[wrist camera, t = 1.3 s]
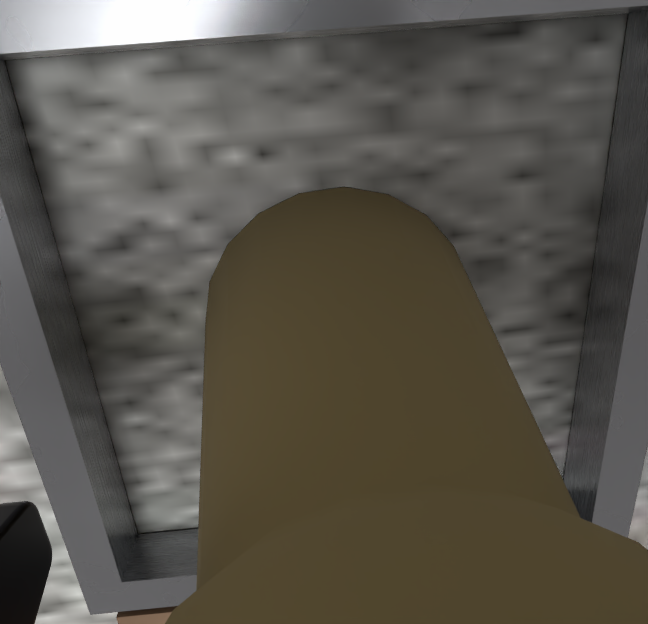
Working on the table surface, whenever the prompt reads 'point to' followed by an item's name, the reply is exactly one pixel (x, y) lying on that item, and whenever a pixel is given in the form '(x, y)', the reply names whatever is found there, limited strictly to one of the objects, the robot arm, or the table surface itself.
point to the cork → (379, 441)
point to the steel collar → (66, 340)
